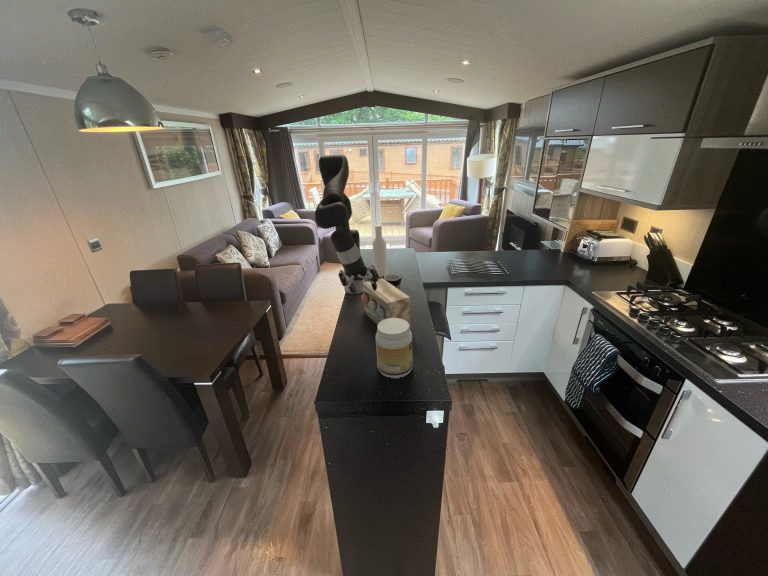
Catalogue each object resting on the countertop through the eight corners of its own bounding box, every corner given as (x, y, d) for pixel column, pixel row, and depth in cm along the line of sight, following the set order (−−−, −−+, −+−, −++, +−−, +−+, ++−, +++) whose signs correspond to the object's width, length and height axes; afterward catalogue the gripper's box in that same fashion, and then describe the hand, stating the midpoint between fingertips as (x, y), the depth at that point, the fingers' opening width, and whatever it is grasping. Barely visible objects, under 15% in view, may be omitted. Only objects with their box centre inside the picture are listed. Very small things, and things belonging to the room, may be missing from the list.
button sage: (372, 312, 129) (372, 303, 128) (368, 308, 133) (368, 300, 131) (377, 311, 130) (376, 302, 128) (372, 307, 134) (372, 298, 132)
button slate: (381, 320, 123) (380, 311, 121) (376, 316, 127) (375, 307, 125) (385, 319, 124) (385, 309, 122) (380, 314, 127) (380, 305, 126)
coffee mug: (389, 300, 155) (388, 282, 151) (381, 294, 162) (380, 276, 158) (409, 294, 160) (409, 276, 156) (401, 289, 167) (400, 271, 163)
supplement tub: (417, 376, 102) (417, 332, 95) (381, 383, 100) (378, 338, 93) (407, 354, 113) (406, 313, 106) (374, 360, 111) (371, 319, 104)
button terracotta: (365, 305, 136) (364, 297, 134) (361, 302, 139) (360, 293, 137) (369, 304, 136) (369, 296, 135) (365, 301, 140) (365, 292, 138)
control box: (389, 336, 125) (387, 303, 119) (364, 312, 145) (362, 282, 138) (410, 329, 129) (409, 297, 123) (383, 307, 149) (382, 278, 142)
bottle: (387, 277, 183) (384, 226, 171) (373, 277, 184) (370, 227, 172) (387, 272, 190) (385, 223, 178) (375, 272, 191) (372, 224, 179)
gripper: (370, 247, 110) (383, 282, 120) (334, 253, 114) (350, 286, 124) (366, 260, 104) (380, 295, 114) (328, 266, 109) (345, 299, 118)
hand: (364, 290), depth 119 cm, fingers open, 8 cm apart
